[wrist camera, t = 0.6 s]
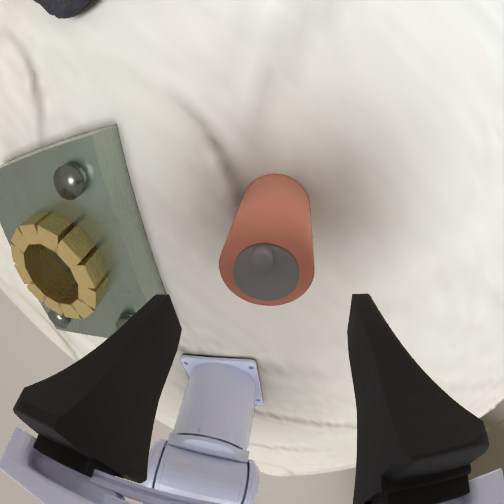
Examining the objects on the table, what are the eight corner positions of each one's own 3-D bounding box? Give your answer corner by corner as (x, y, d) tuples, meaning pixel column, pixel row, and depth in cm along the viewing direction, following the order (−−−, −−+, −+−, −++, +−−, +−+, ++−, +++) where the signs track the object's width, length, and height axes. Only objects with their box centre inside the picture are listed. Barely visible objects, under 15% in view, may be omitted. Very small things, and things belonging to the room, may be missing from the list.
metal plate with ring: (176, 320, 27) (158, 362, 23) (69, 310, 30) (48, 342, 26) (116, 123, 18) (71, 144, 14) (5, 163, 20) (-33, 185, 16)
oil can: (310, 233, 21) (314, 322, 14) (246, 235, 21) (222, 322, 15) (308, 172, 18) (315, 242, 11) (238, 176, 19) (204, 245, 12)
